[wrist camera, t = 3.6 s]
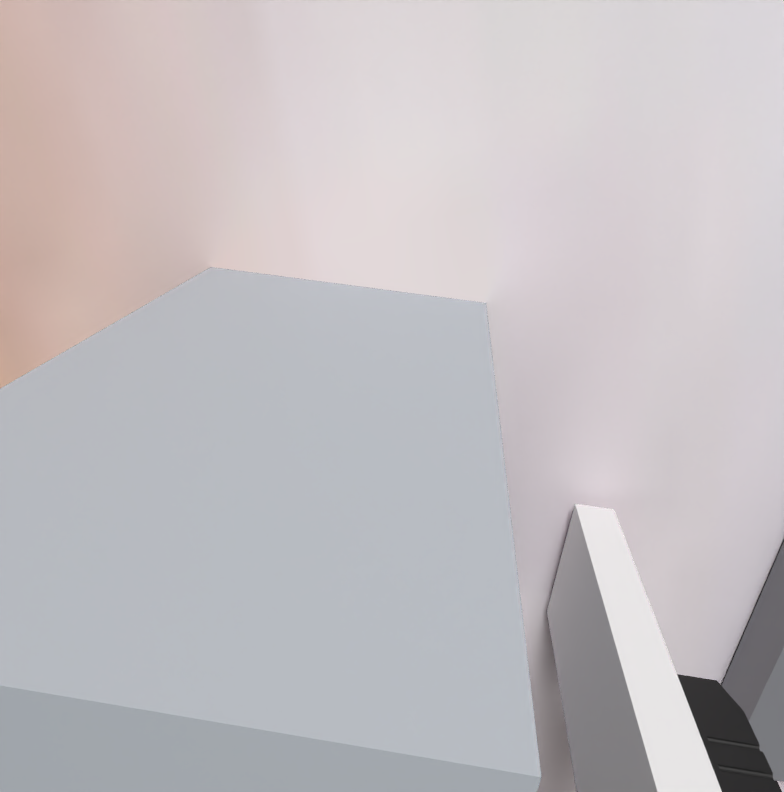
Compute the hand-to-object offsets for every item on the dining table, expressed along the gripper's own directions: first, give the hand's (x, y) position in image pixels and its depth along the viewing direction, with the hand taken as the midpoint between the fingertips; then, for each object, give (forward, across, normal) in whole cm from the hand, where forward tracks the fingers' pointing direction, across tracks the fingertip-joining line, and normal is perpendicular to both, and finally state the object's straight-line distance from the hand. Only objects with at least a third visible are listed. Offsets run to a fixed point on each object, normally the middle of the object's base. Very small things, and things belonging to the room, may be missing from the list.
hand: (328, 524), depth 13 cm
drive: (0, 0, 0) cm, 0 cm away
